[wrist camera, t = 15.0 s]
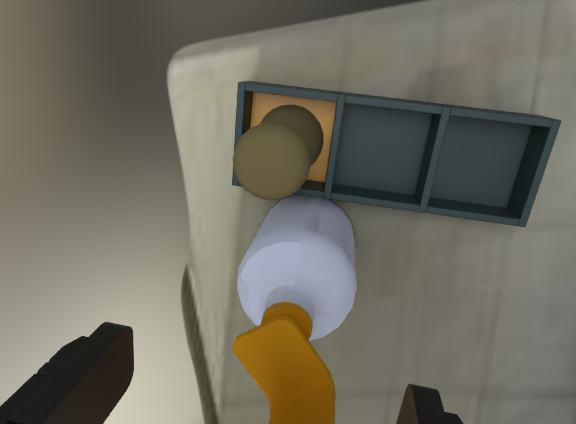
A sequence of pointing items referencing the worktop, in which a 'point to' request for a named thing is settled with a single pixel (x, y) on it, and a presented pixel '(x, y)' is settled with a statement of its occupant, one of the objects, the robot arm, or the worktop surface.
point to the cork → (278, 152)
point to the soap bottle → (296, 304)
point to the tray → (415, 152)
